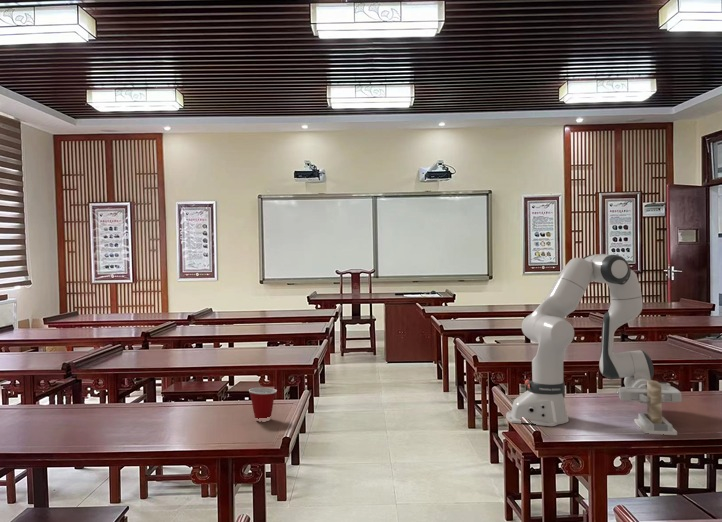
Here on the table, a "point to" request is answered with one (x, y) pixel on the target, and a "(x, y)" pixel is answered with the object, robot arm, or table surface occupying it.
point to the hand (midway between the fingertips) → (655, 400)
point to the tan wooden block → (654, 402)
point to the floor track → (654, 425)
